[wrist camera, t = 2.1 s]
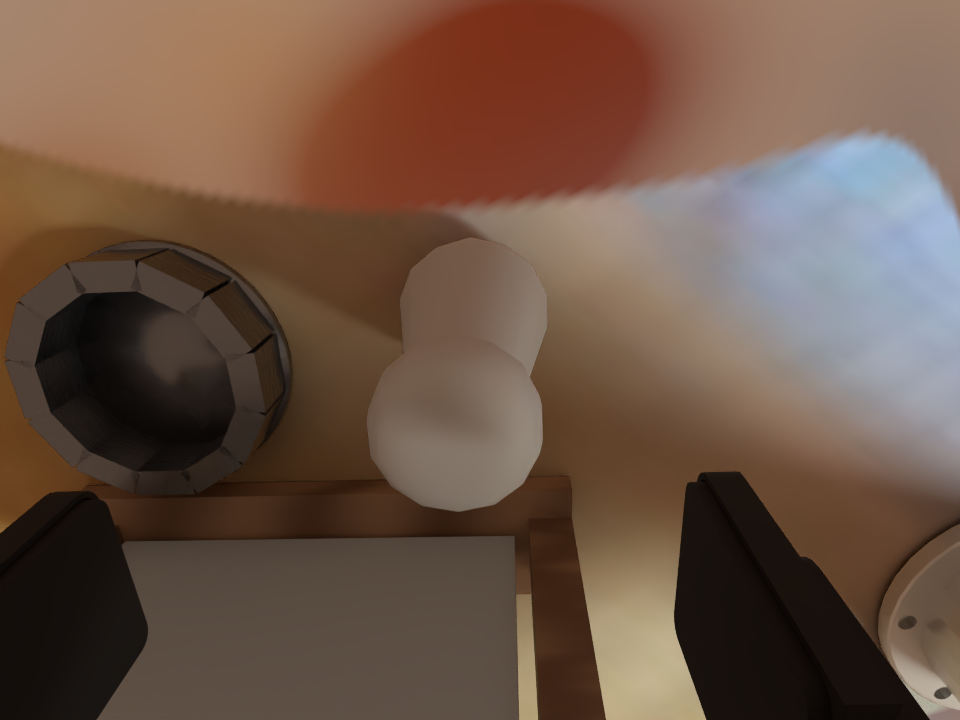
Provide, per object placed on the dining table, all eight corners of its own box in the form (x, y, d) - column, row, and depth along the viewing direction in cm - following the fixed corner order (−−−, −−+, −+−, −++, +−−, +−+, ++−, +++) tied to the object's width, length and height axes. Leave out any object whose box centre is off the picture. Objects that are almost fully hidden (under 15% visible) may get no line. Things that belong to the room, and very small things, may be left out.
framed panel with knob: (569, 476, 29) (688, 1126, 10) (568, 576, 31) (665, 1266, 12) (86, 485, 30) (-604, 1076, 11) (118, 581, 32) (-418, 1210, 13)
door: (513, 509, 28) (523, 955, 13) (515, 561, 29) (526, 1029, 14) (116, 515, 29) (-305, 936, 14) (132, 566, 30) (-242, 1006, 15)
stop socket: (269, 234, 25) (241, 247, 22) (309, 463, 29) (289, 498, 26) (17, 245, 26) (-40, 259, 23) (90, 468, 30) (48, 502, 27)
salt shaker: (384, 268, 25) (272, 397, 13) (504, 202, 24) (503, 277, 12) (451, 380, 27) (408, 585, 15) (566, 324, 26) (620, 498, 14)
